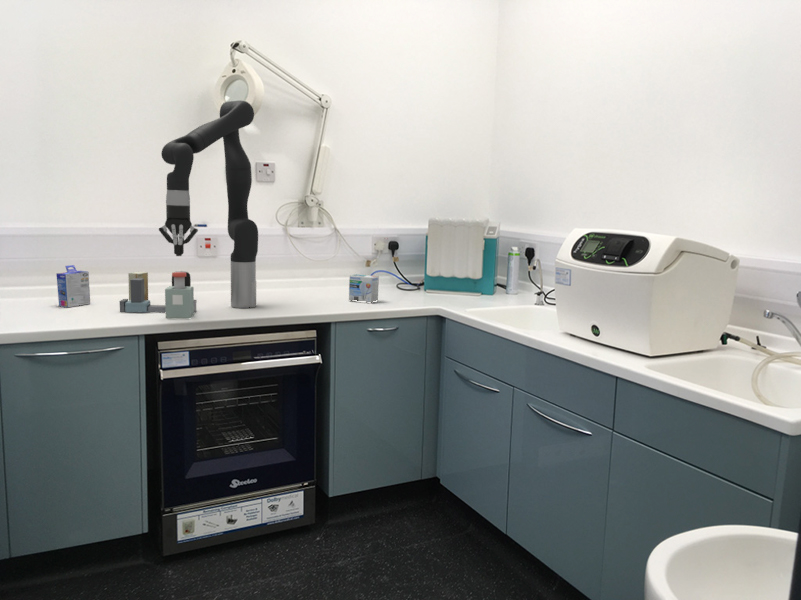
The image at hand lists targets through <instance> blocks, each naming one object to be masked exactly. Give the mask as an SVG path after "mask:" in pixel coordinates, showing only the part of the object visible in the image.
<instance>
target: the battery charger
mask: <svg viewBox="0 0 801 600" xmlns="http://www.w3.org/2000/svg"><path fill="white" fill-rule="evenodd" d="M177 272H186V277H185V287H192V286H191V283H192V282H191V274H190V272H189V271H182V270H181V271H177ZM171 286H174V277H172V276H171Z"/></svg>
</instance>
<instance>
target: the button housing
mask: <svg viewBox="0 0 801 600" xmlns="http://www.w3.org/2000/svg"><path fill="white" fill-rule="evenodd" d="M194 289H195V288H194V286H191V287H185V289H174V286H172V285H171V286H168V287H166V288H165V289H164V298H165V299H164V301H165V304H164V305H165V311H166V313H165V319H166V318H191V319H192V317H194V315H195V313H194V300H195V297H194V295H195V294H194V293H195V292H194Z"/></svg>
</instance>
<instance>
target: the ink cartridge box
mask: <svg viewBox="0 0 801 600" xmlns="http://www.w3.org/2000/svg"><path fill="white" fill-rule="evenodd" d="M69 268H71V269H69ZM65 269H66V272H58V273H56V274H55V275H56V286H57V299H58V306H59V307H61V306H62V307H63V308H71V307H79V305H80V306H85V305H90V304H91V293H90V292H91V290H90V271H86V270H85V271H84V270H77V269H76V266H75V265H74V264H73V265H65Z"/></svg>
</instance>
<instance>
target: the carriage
mask: <svg viewBox="0 0 801 600" xmlns="http://www.w3.org/2000/svg"><path fill="white" fill-rule="evenodd" d="M130 285H131V300H129V299H128V302H126V303H125V311H126V312H125V313H148V312H147V306H148V305H151V300H149V299H148V300H145V292H144V278H133V279H131V280H130Z"/></svg>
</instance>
